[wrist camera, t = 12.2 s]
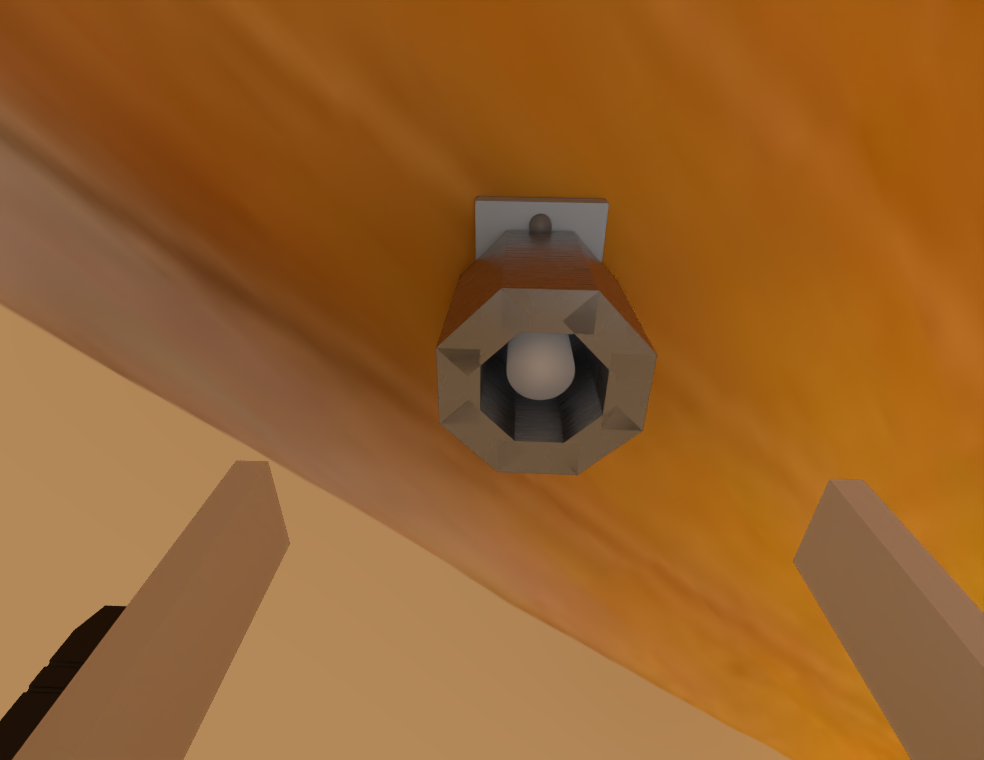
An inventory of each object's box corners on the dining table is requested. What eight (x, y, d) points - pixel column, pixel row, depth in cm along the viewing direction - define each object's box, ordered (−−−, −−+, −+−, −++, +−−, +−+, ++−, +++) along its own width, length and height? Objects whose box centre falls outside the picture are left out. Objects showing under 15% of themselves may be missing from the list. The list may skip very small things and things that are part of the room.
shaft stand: (478, 380, 29) (464, 470, 22) (477, 196, 24) (459, 236, 17) (583, 384, 28) (604, 476, 22) (604, 198, 24) (640, 240, 17)
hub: (462, 372, 27) (441, 469, 20) (459, 229, 23) (433, 286, 16) (603, 377, 26) (633, 477, 19) (622, 233, 23) (668, 292, 16)
